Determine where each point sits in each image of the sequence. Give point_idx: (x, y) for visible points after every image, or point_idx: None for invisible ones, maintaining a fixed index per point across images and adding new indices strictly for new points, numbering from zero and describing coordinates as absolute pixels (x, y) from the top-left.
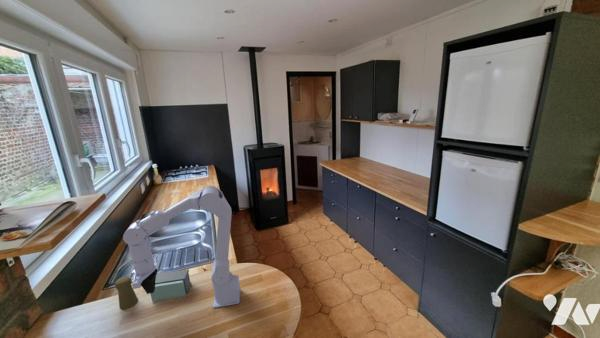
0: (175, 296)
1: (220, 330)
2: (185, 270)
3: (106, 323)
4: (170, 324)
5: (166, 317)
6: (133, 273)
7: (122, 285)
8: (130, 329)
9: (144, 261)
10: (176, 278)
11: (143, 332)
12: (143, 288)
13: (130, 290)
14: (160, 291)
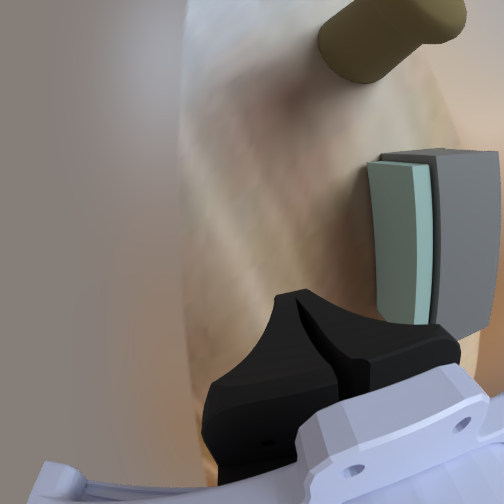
0: (378, 274)
1: (207, 454)
2: (486, 316)
3: (235, 18)
4: (223, 326)
5: (261, 291)
6: (298, 469)
7: (393, 2)
8: (194, 157)
9: None
10: (447, 308)
11: (179, 234)
12: (269, 320)
13: (393, 48)
14: (396, 222)
